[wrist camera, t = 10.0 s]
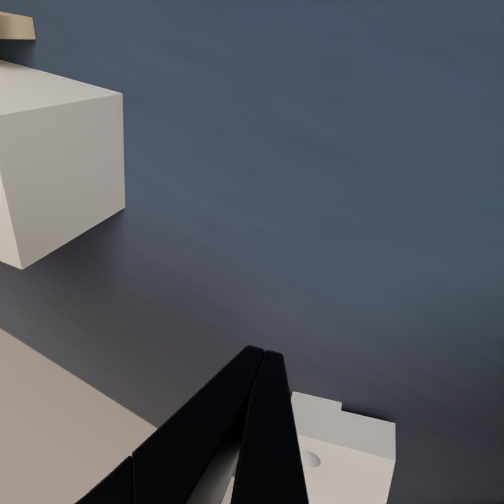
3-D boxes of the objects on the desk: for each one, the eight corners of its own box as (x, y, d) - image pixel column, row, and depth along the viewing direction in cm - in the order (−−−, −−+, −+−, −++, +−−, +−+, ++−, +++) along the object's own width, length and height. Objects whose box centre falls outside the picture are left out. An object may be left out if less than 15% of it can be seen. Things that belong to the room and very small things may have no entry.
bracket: (376, 510, 31) (372, 628, 24) (295, 485, 33) (273, 587, 27) (395, 411, 24) (395, 535, 18) (293, 388, 27) (263, 492, 20)
